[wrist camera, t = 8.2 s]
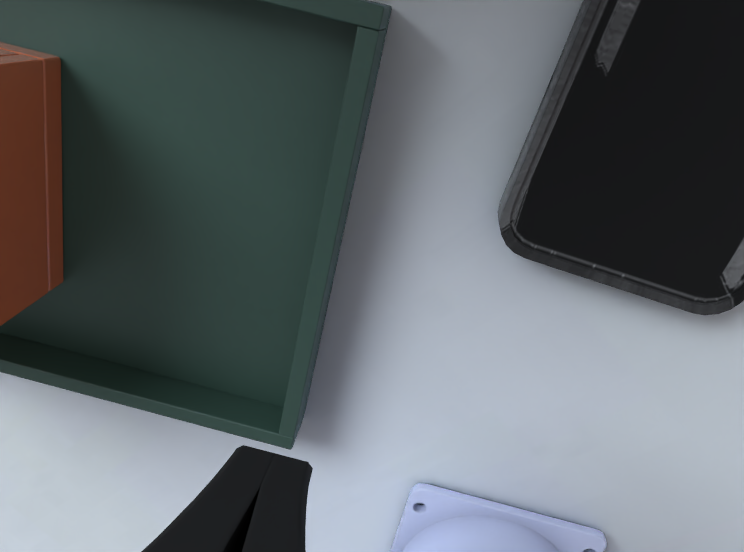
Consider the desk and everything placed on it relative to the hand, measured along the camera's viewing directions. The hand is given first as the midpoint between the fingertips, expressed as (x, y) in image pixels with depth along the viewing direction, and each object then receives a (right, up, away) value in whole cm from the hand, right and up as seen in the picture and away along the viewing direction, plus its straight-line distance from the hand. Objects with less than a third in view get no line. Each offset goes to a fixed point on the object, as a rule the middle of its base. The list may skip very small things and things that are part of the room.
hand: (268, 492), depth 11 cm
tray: (-9, +8, +9) cm, 15 cm away
